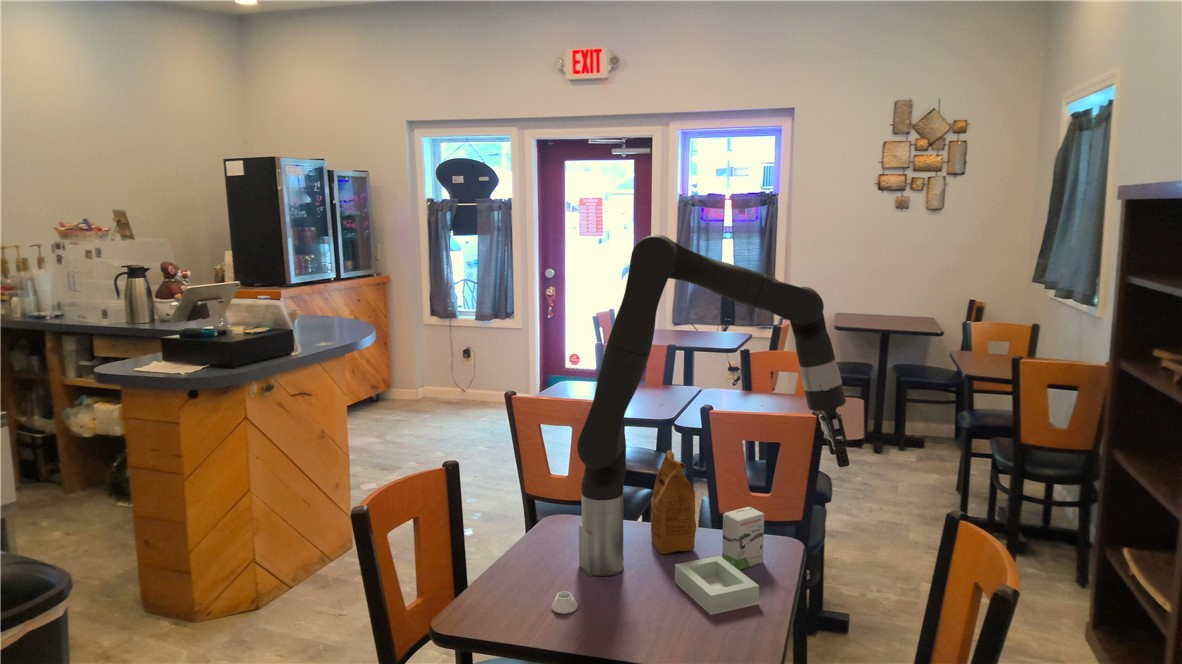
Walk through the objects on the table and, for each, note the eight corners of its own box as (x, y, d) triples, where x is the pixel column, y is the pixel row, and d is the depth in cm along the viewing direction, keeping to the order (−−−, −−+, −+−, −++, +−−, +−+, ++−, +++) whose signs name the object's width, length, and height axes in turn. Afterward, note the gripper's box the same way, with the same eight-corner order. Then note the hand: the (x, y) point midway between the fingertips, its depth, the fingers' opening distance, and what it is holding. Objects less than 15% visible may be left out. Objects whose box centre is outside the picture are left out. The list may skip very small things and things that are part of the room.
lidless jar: (572, 601, 155) (548, 605, 153) (572, 587, 154) (548, 591, 153) (580, 612, 150) (556, 617, 148) (580, 598, 150) (556, 603, 148)
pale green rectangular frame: (710, 614, 148) (711, 595, 148) (674, 582, 162) (674, 564, 162) (758, 604, 152) (759, 585, 152) (719, 573, 166) (719, 555, 166)
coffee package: (686, 533, 188) (687, 447, 185) (699, 554, 176) (700, 462, 173) (646, 535, 187) (647, 448, 184) (656, 556, 175) (657, 464, 172)
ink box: (736, 572, 167) (737, 520, 165) (720, 563, 171) (721, 513, 169) (764, 562, 172) (765, 512, 170) (748, 554, 176) (749, 505, 174)
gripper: (798, 381, 161) (815, 453, 163) (809, 395, 147) (827, 474, 149) (834, 373, 160) (851, 446, 162) (848, 386, 146) (866, 466, 147)
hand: (839, 459), depth 155 cm, fingers open, 8 cm apart
